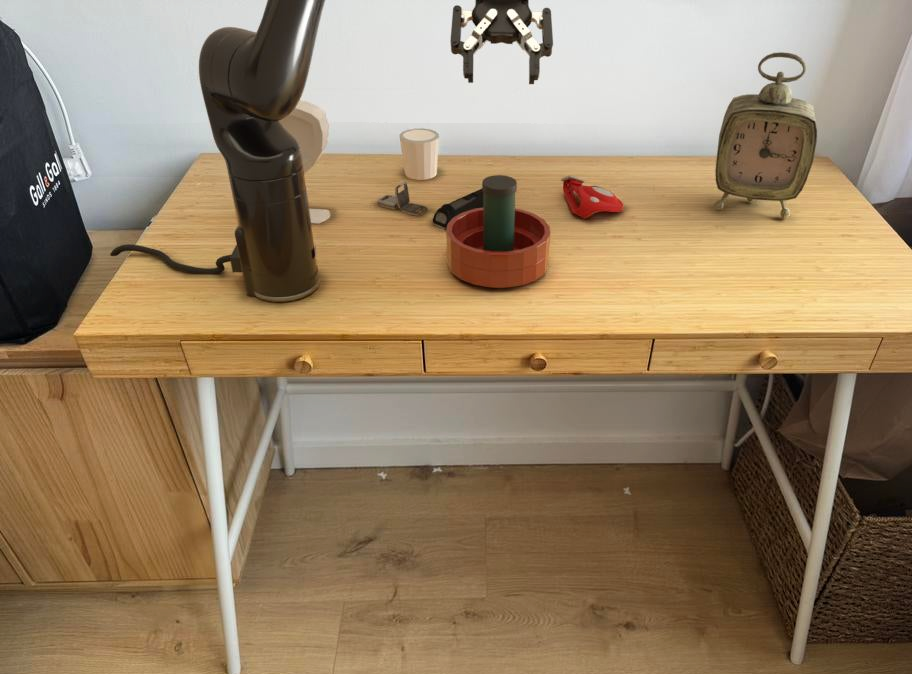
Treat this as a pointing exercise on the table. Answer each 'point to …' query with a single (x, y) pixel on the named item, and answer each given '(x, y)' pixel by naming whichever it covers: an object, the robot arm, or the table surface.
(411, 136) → the shot glass
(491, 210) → the tube
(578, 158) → the table surface
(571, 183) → the tracker holder
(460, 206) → the electric trimmer
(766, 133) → the tabletop clock
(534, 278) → the bowl
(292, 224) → the robot arm
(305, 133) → the heart sculpture
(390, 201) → the strap clip
